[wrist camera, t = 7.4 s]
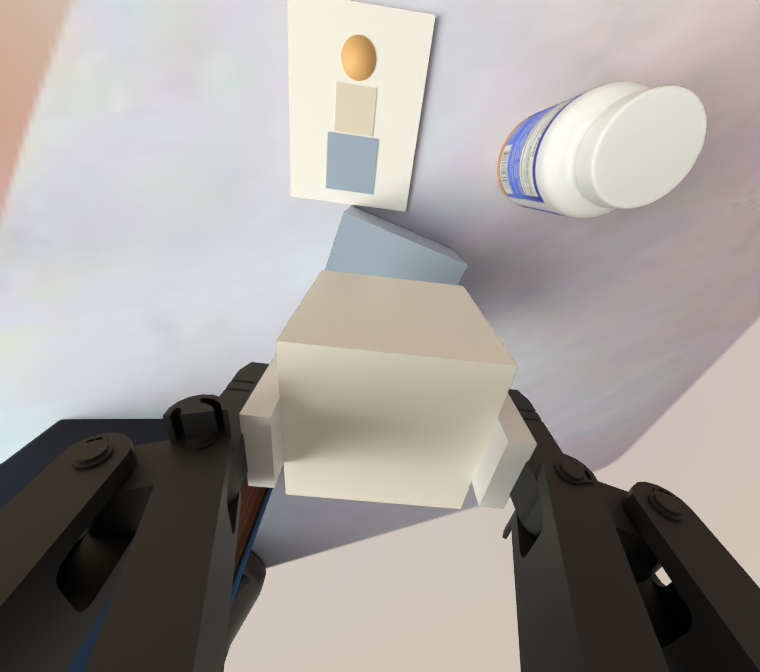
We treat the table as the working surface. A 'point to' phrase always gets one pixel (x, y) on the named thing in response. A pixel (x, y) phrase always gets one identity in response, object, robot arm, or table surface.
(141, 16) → the table surface
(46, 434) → the book
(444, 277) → the base block
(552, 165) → the pill bottle
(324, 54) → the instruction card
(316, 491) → the cream cube
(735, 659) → the robot arm
